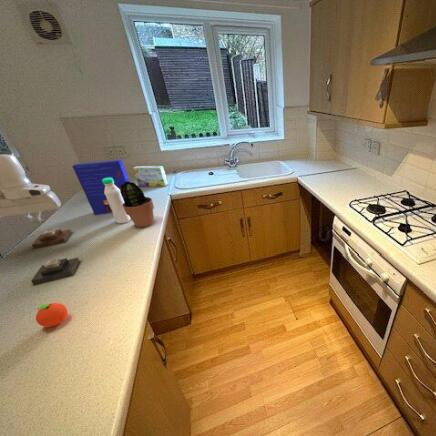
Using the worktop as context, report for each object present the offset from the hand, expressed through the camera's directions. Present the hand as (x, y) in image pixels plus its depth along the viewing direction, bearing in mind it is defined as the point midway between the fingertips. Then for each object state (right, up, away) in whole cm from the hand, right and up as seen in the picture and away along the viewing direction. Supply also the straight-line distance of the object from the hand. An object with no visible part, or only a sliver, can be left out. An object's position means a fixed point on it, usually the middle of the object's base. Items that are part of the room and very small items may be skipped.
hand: (36, 221), depth 103 cm
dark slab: (+15, -21, -6) cm, 26 cm away
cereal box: (+1, +6, +46) cm, 46 cm away
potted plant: (+29, -2, +29) cm, 41 cm away
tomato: (+35, -32, -27) cm, 55 cm away
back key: (-8, -7, +14) cm, 18 cm away
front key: (+15, -18, -8) cm, 24 cm away
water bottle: (+15, 0, +33) cm, 36 cm away
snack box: (+2, +27, +84) cm, 88 cm away
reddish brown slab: (-8, -10, +16) cm, 20 cm away
